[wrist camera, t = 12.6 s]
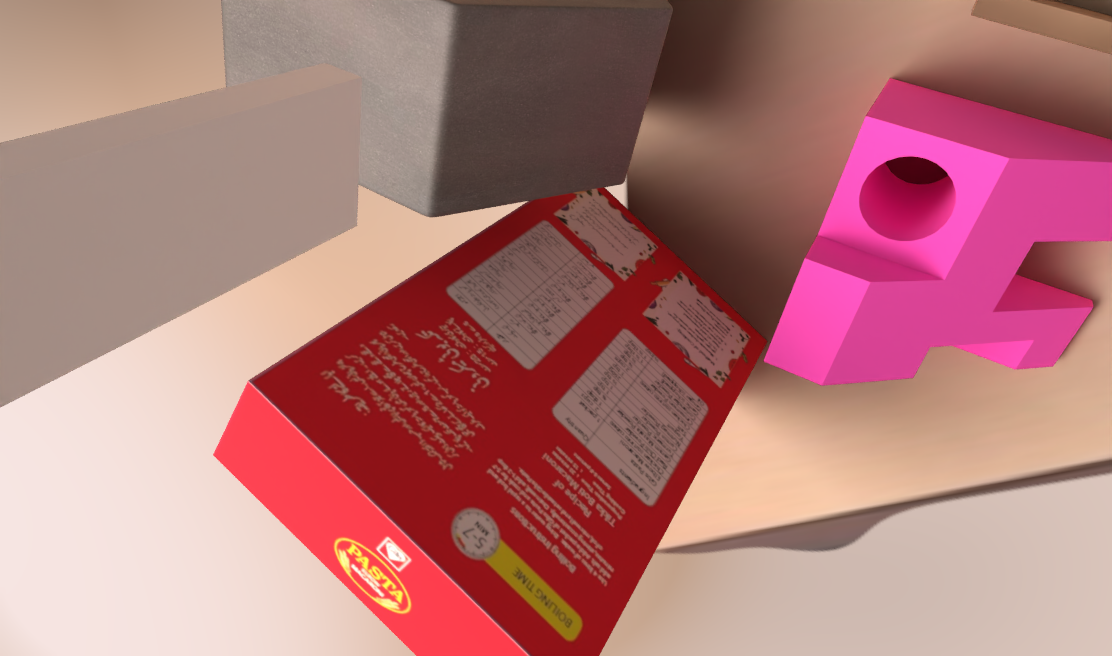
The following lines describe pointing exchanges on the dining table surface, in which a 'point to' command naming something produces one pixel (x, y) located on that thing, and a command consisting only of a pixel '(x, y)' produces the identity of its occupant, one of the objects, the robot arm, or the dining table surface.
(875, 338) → the bracket
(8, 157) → the robot arm
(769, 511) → the dining table surface
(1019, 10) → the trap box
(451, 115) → the planter
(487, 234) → the food packaging
